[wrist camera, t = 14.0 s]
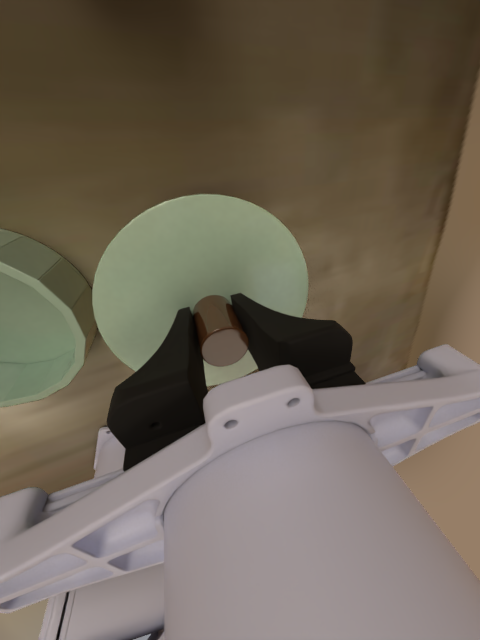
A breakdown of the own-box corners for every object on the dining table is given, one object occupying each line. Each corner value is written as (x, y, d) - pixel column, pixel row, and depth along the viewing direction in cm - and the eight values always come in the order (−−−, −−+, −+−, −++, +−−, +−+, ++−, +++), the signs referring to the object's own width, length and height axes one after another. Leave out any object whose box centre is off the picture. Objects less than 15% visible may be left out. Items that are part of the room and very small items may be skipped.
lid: (333, 236, 15) (390, 260, 11) (258, 381, 20) (279, 428, 16) (110, 144, 10) (79, 131, 6) (88, 369, 15) (65, 433, 11)
